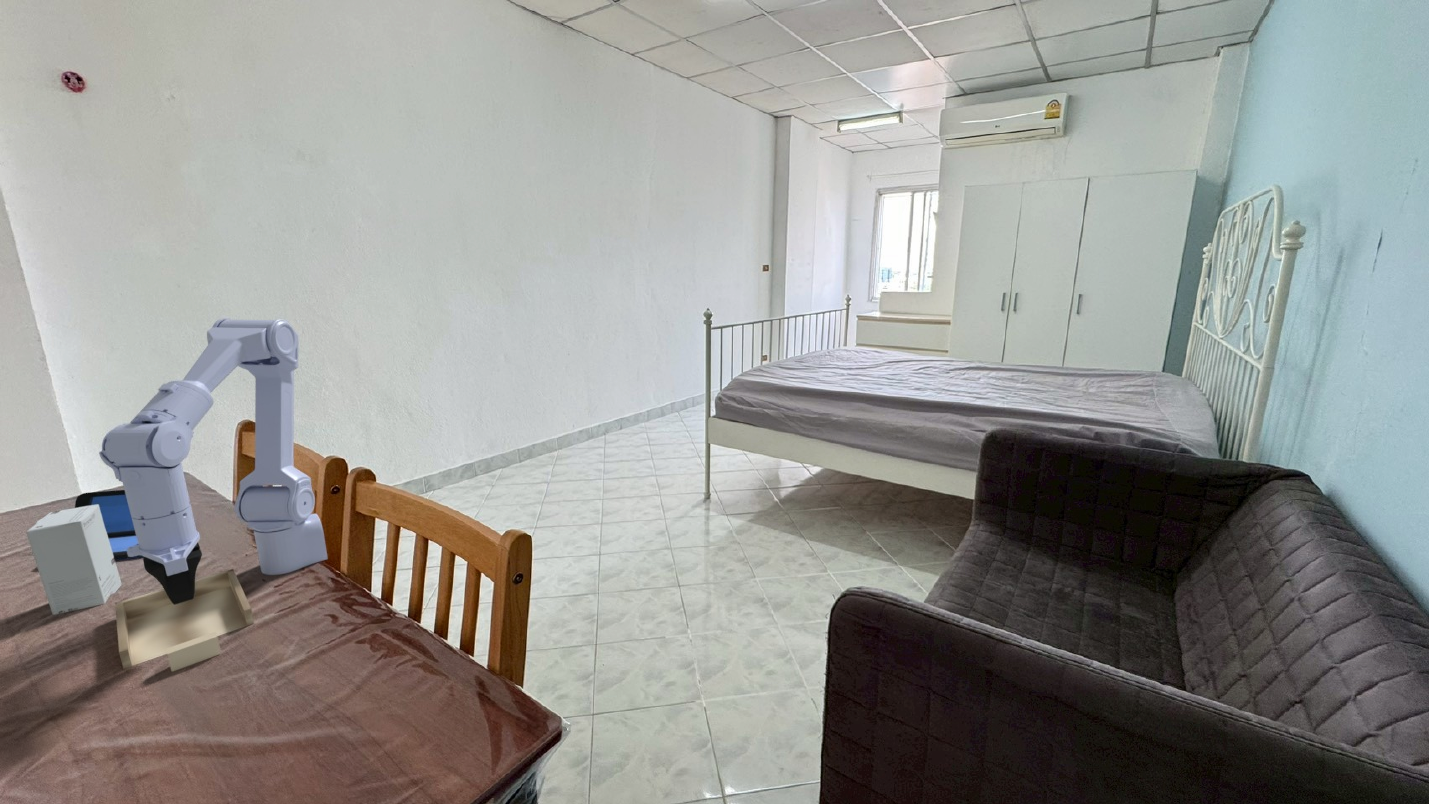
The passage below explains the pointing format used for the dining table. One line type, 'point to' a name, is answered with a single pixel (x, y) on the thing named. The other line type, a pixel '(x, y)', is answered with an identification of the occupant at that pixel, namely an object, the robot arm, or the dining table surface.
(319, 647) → the dining table surface
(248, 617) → the birch box
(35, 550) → the skincare box
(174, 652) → the cover plate
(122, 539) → the handheld game console
